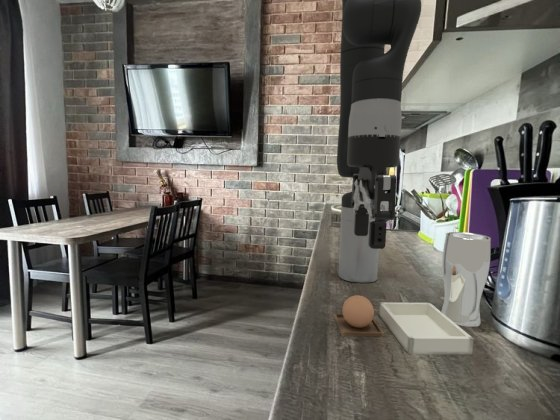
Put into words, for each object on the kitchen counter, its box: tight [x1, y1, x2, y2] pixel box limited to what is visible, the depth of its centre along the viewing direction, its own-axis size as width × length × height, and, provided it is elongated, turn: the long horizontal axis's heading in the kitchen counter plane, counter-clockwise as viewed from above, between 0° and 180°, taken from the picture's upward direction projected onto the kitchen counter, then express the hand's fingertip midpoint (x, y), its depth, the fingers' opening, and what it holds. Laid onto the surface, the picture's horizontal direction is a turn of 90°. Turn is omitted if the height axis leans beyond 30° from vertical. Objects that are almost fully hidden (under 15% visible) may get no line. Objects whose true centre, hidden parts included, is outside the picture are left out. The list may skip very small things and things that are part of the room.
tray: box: [378, 301, 475, 356], centre depth 49 cm, size 12×9×3 cm
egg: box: [341, 294, 375, 328], centre depth 51 cm, size 5×5×5 cm
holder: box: [332, 313, 386, 338], centre depth 51 cm, size 7×7×1 cm
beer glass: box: [440, 231, 492, 328], centre depth 54 cm, size 7×7×15 cm
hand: (368, 241), depth 49 cm, fingers open, 8 cm apart
